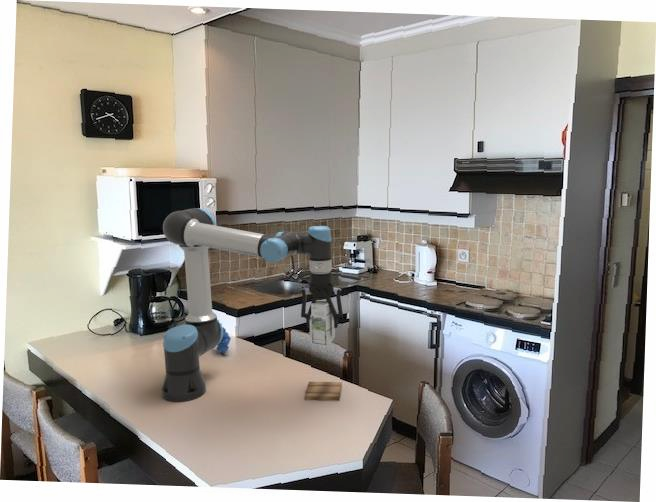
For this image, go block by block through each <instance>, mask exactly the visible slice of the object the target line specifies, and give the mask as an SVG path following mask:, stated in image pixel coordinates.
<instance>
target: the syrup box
mask: <svg viewBox="0 0 656 502" xmlns="http://www.w3.org/2000/svg"><path fill="white" fill-rule="evenodd" d="M310 305H311V316H310V317H311V318H312V338H311V342H312V344H316V345H323V346H328V345H329V344H331V343H333V341H334V338H332V317H333V315H332V313H331V310H330V308H329V304H328V303H327V301H326V299H316V302H315V303H310Z"/></svg>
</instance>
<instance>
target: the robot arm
mask: <svg viewBox="0 0 656 502" xmlns="http://www.w3.org/2000/svg"><path fill="white" fill-rule="evenodd" d="M162 231H163V234H164V237H165V238H166V240H167V241H169V242H170V243H172V244H174V245H178V246H179V248H180V249H181V250H182V251H183V256H184V257H183V258H184V266H185V268H184V269H185V283H186V293H187V294H186V295H187V303H188V304H187V306H188V314H187V315H186V317H185V318H184V320H185V322H184V323H185V324H179V325H178V326H173V327H171V328H169V329H168V330H166V332H165V333H164V334H163V342H162V346H163V351H164V353H163V354H164V363H165V365H164V366H165V375H164V381H163V384H162V388H161V396H162V398H164V399H165V400H167V401H170V402H186V401H191V400H196V399H198V398H200V397H201V396H202V395H204V394H205V393H206V391H207V384H206V381H205V379H204V377H203V374H202V372H201V368H200V366H201V365H200V357H201V356H203V355H204V354H206V353H208V352H209V351H212V350H213V349H215V348H217V346H218V344H219V343H220V341H221V340H222V337H223V328H224V327H223V325H222V322H220V320H219V319H218V315H217V314H216V313H215V312H214V311H213V303H212V302H213V301H212V289H211V287H212V286H211V276H210V275H211V274H210V259H209V258H210V257H209V249H210V248H211V249H216V250H221V251H227V252H231V253H237V254H243V255H248V256H253V257H259V258H263V259H264V260H265V261H266V262H267V263H277V262H281V261H283V260H285V259H286V258H289V257H291V256H293V255H308V257H309V271H310V273H309V286H308V287H303V288H302V289H301V291H300V292H301V296H302V299H301V309H300V310H301V311H300V313H301V314H300V317H301V318H303V319H305V320H306V328H309V338H311V339H312V318H311V303H315V302H316V300H325V301H327V303H328V304H329V308H330V310H331V313H332V338H333V339H335V336H336V329H337V328H338V326H339V318H341V319H342V318H343V315H344V313H343V304H342V298H341V292H342V288H340V287H334V285H333V273H332V269H333V268H332V266H333V264H332V263H333V261H332V260H333V259H332V241H333V240H332V234H331V228H330V227H329V226H326V225H318V226H317V225H314V226H310V227H308V231H307V232H303V231H288V230H287V231H279V232H277V233H276V235H271V234H269V235H268V234H263V233H259V232H254V231H249V230H248V231H247V230H241V229H237V228H230V227H225V226H220V225H217V223H216V219H215V218H214V215H213V214H211V212H210V211H209V210H206V209H204V208H202V207H201V208H199V207H198V208H196V207H194V208H188V209H184V210H175V211H173V212H171V213H170V214H168V215H167V216H166V218H165V219H164V221H163V224H162ZM309 292H310V294H312V300H311V303H310V305H309V308H308V311H307V298H308V295H309ZM332 292H334V295H336V297H335V298H336V305H337V306H336V307H337V310H336V308H335V305H334V303H333V301H332V297H331V294H332ZM306 311H307V313H306ZM337 311H338V313H337Z"/></svg>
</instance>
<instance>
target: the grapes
mask: <svg viewBox="0 0 656 502" xmlns="http://www.w3.org/2000/svg"><path fill="white" fill-rule="evenodd" d="M231 338H232V337H231V336H230V335H229V333H228V332H227V330H226V328H225V327H223V337H222V340H221V341H220V343H219V344H218V345H217V346H216V347H215V348H216V350H217V351H218V352H219V353H221V355H222V354H223V355H224V354H225V353H226V352H227V351H228V350H229V345H230V342H231Z"/></svg>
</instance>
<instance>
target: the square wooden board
mask: <svg viewBox="0 0 656 502" xmlns="http://www.w3.org/2000/svg"><path fill="white" fill-rule="evenodd" d="M342 386H343V383H342V381H308V384H307V387H306V390H305V393H304V395H303V396H304V401H329V402H330V401H331V402H332V401H333V402H334V401H337V402H339V401H341V393H342Z"/></svg>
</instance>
